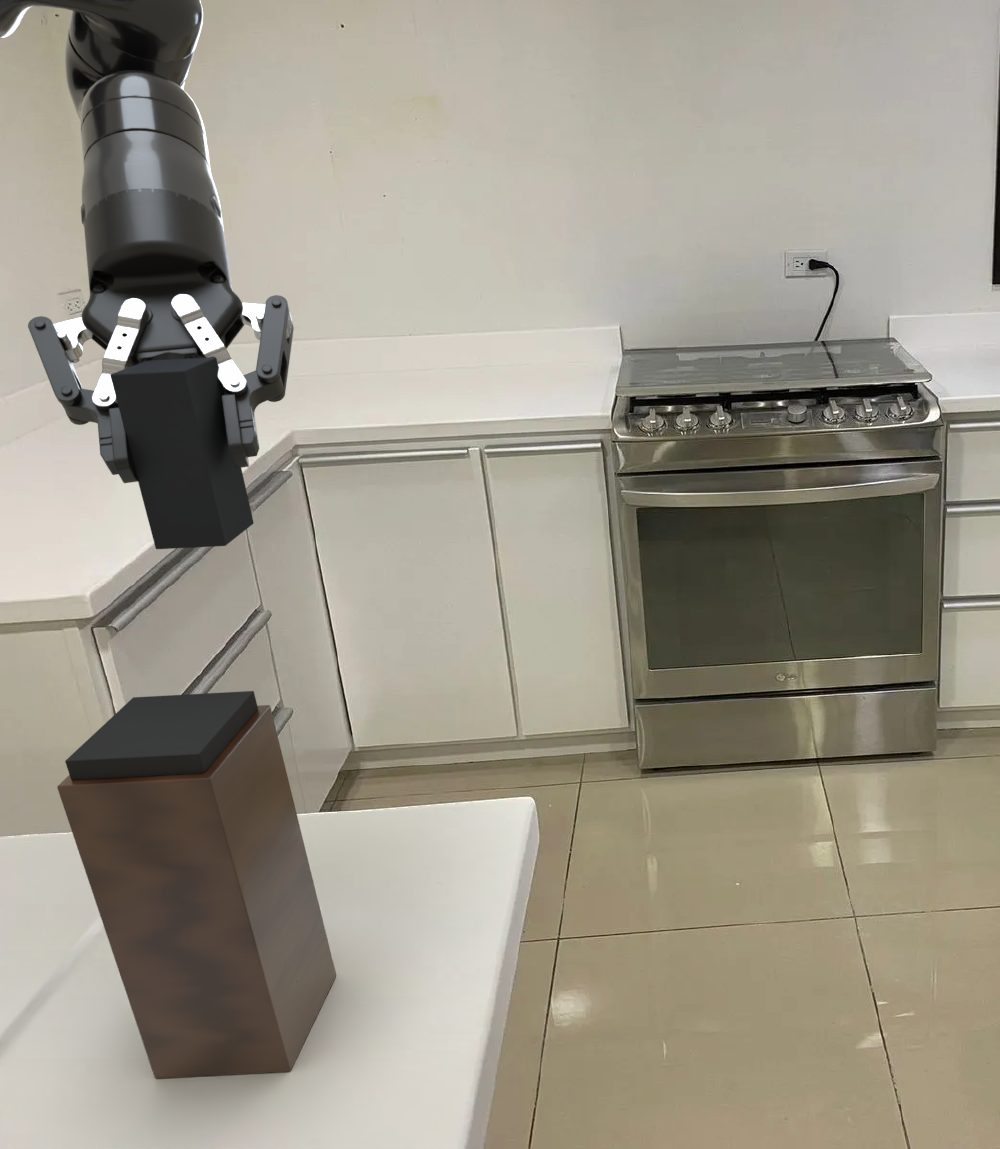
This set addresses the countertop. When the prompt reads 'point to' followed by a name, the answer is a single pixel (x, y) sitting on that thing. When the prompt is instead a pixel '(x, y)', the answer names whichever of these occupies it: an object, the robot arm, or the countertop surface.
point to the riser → (208, 907)
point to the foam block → (182, 452)
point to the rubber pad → (163, 736)
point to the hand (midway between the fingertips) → (183, 466)
